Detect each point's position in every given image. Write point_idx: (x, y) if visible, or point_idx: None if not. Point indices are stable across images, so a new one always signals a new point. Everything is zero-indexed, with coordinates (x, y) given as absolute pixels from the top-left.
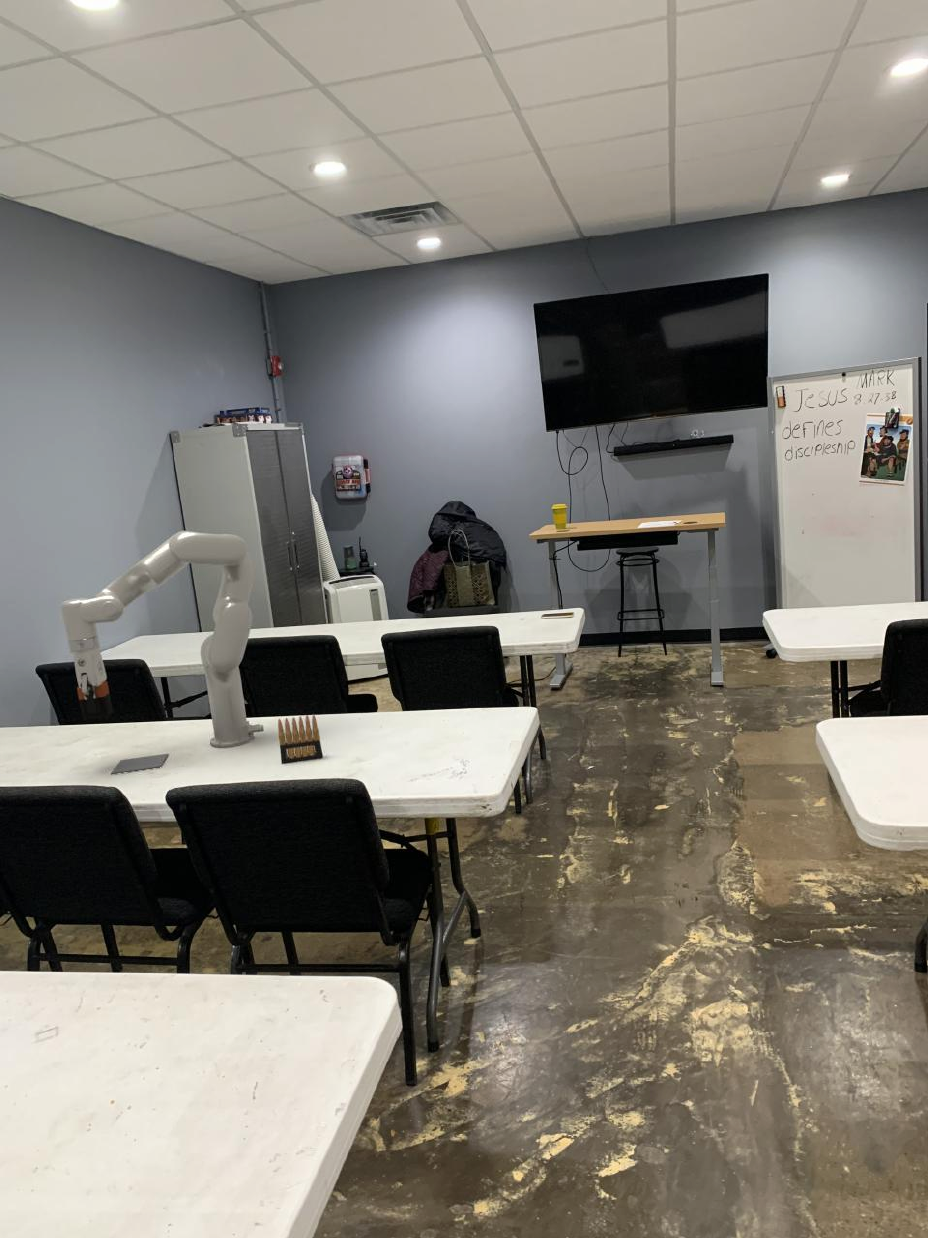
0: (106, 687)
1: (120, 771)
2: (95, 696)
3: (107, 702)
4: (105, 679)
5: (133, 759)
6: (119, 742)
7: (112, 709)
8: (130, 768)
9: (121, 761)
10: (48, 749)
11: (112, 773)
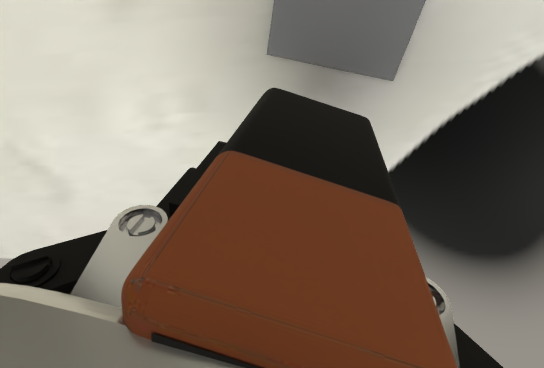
0: (280, 231)
1: (402, 48)
2: (433, 299)
3: (348, 147)
4: (32, 317)
5: (288, 6)
6: (67, 67)
7: (277, 93)
8: (396, 11)
9: (284, 50)
10: (87, 214)
11: (394, 75)
